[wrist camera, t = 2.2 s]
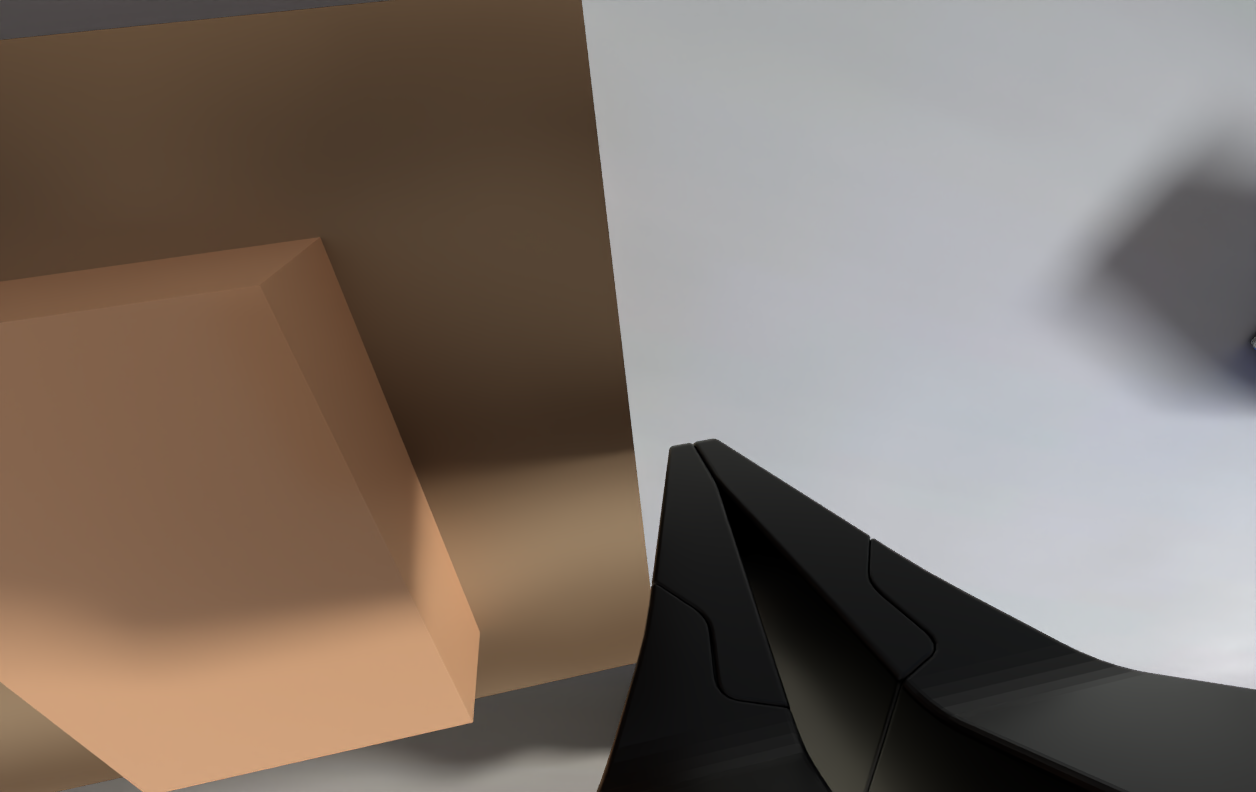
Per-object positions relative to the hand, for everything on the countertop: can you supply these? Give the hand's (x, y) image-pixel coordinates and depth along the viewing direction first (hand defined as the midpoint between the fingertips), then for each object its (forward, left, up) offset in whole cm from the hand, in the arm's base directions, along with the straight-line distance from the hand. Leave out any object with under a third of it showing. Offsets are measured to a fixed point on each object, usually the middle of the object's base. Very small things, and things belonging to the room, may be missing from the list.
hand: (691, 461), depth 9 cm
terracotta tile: (0, +8, -1) cm, 8 cm away
